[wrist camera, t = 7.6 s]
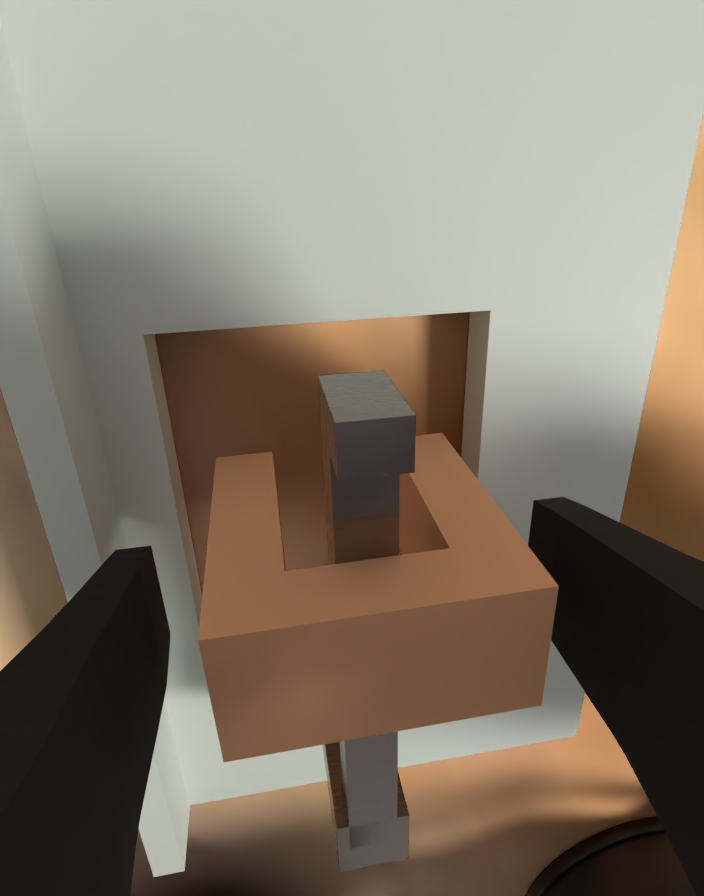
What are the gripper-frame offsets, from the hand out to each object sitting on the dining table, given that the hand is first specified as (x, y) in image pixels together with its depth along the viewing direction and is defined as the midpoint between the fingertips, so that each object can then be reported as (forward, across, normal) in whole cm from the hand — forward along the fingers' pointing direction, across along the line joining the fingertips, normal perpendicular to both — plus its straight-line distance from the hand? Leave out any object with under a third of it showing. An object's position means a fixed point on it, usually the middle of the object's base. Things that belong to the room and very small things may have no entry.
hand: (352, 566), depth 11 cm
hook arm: (+4, 0, +1) cm, 4 cm away
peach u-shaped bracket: (+3, 0, 0) cm, 3 cm away
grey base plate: (+4, -1, -1) cm, 4 cm away
